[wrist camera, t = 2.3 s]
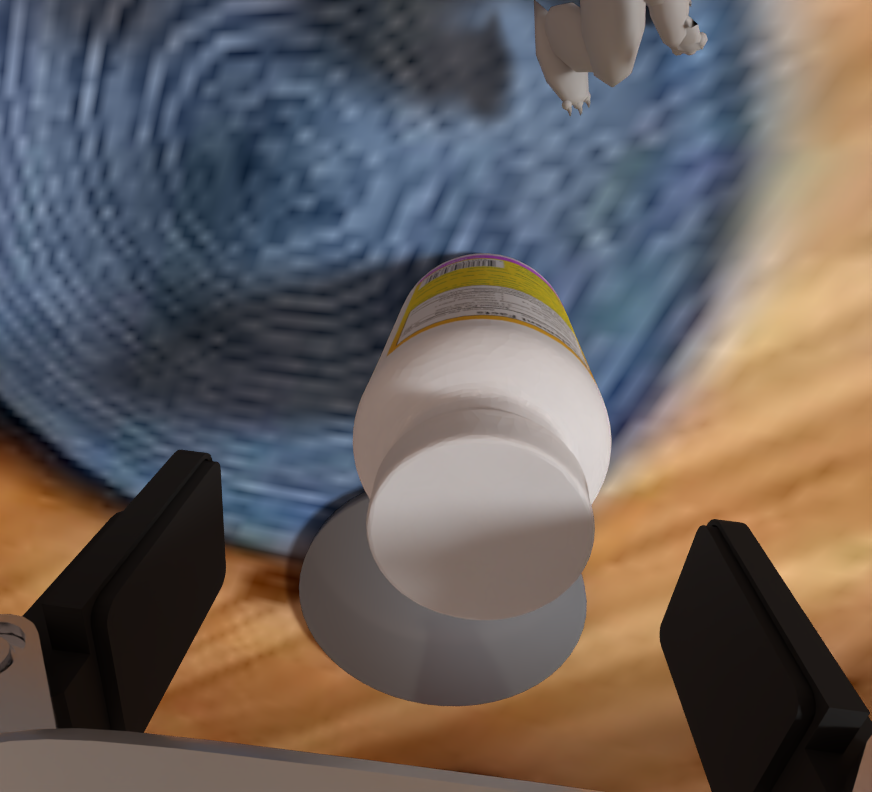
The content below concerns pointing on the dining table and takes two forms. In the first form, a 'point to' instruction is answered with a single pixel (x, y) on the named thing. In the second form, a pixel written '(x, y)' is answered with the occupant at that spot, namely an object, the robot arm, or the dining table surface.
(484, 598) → the supplement bottle
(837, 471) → the dining table surface
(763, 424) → the dining table surface
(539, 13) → the fairy figurine
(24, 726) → the robot arm
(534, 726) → the dining table surface
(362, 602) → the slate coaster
